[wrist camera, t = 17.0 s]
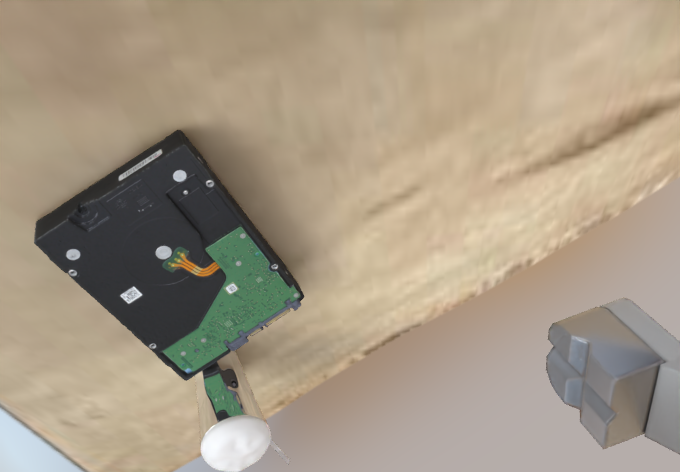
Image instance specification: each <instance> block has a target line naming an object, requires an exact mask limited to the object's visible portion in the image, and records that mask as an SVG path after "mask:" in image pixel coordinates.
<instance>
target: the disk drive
mask: <svg viewBox="0 0 680 472" xmlns="http://www.w3.org/2000/svg"><path fill="white" fill-rule="evenodd" d="M34 243H35V244H36V245H37V246H38V247H39V248H40V249H41V250H42V251H43V252H44V253H45V254H46V255H47V256H48V257H49V259H50V260H51V261H53V262H54V263H55V264H56V265H57V266H58V267H59V268H60V269H61V270H63V271H64V272H65V273H68V274H69V276H70V277H71V278H72V279H74V280H75V281H76V282H77V283H78V284H79V285H80V286H81V287H82V288H83V289H84V290H86V291H87V292H88V293H89V294H90V295H91V296H92V297H94V298H95V299H96V300H97V301H98V302H99V303H100V304H101V305H102V306H103V307H104V308H105V309H107V310H108V311H109V312H110V313H111V314H112V315H114V316H115V317H116V318H117V319H118V320H119V321H120V322H121V323H122V324H123V325H125V326H126V327H127V329H128V330H130V331H131V332H132V333H133V334H134V335H135V336H136V337H137V338H138V339H140V340H141V341H142V342H143V343H144V344H145V345H146V346H147V347H148V348H149V349H151V350H152V351H153V352H154V353H155V354H156V355H157V356H158V357H159V358H160V359H161V360H162V361H163V362H164V363H165V364H166V365H167V366H169V367H171V368H172V369H173V370H174V371H175V372H176V373H177V374H178V375H179V376H181V377H182V378H183V379H184V380H186V381H187V380H189V379H190V378H192V377H193V376H195V375H196V374H198V373H199V372H201V371H203V370H204V369H206V368H207V367H209V366H210V365H212V364H213V363H215V362H216V361H218V360H220V359H221V358H223V357H224V356H226V355H227V354H229V353H230V352H231V351H235V350H236V349H238V348H239V347H241V346H242V345H244V344H245V343H247V342H248V339H247V337H248V336H249V335H250V336H253V335H255V334H256V333H258V332H259V331H261V330H263V327H262V326H264V325H265V326H266V327H268V326H269V325H270V324H272V323H273V322H274V321H276V320H278V319H279V318H281V317H282V316H284V315H285V314H287V313H288V312H290V308H291V307H292V308H293V309H294V311H296V310H297V309H298V307H300V306H301V303H300V301H301V300H302V299H303V298H304V294H303V292H302V291H301V289H300V287H299V285H298V283H297V282H296V280H295V279H294V278H293V276H292V275H291V273H290V272H289V271H288V270H287V268H286V266H285V265H284V263H283V262H282V261H281V259H280V258H279V257H278V256H277V255H276V254H275V252H274V251H273V250H272V248H271V247H270V246H269V244H268V243H267V242H266V241H265V239H264V238H263V237H262V235H261V234H260V233H259V232H258V230H257V229H256V228H255V226H254V225H253V224H252V222H251V221H250V220H249V219H248V217H247V216H246V214H245V213H244V212H243V211H242V209H241V208H240V207H239V206H238V204H237V203H236V202H235V200H234V199H233V198H232V196H231V195H230V194H229V193H228V191H227V190H226V189H225V187H224V186H223V185H222V184H221V182H220V181H219V179H218V178H217V177H216V176H215V174H214V173H213V172H212V171H211V169H210V168H209V167H208V165H207V163H206V161H205V160H204V159H203V157H202V156H201V155H200V153H199V152H198V151H197V149H196V148H195V147H194V146H193V145H192V144H191V142H190V141H189V139H188V138H187V137H185V135H184V133H183V132H182V131H181V130H177V131H175V132H174V133H173V134H171V135H170V136H168V137H166V138H165V139H164V140H162V141H160V142H159V143H157V144H155V145H154V146H152V147H150V148H149V149H147V150H146V151H144V152H143V153H141V154H140V155H138V156H137V157H135V158H134V159H132V160H131V161H129V162H128V163H126V164H124V165H123V166H121V167H120V168H118V169H116V170H115V171H113V172H112V173H110V174H109V175H107V176H106V177H105V178H103V179H101V180H100V181H98V182H97V183H95V184H94V185H92V186H90V187H89V188H87V189H86V190H84V191H83V192H81V193H79V194H78V195H76V196H75V197H73V198H72V199H70V200H69V201H67V202H66V203H64V204H63V205H61V206H60V207H58V208H57V209H56V210H55V211H53V212H52V213H50V214H48V215H46V216H45V217H43V218H42V219H40V220H38V221H37V222H36V228H35V240H34Z"/></svg>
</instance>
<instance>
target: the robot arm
mask: <svg viewBox="0 0 680 472" xmlns="http://www.w3.org/2000/svg"><path fill="white" fill-rule="evenodd" d="M548 340H549V341H550V342H551V343H552V344H553V345H554V347H553V348H552V349H551V351H550V352H549V354H548V355H547V362H546V370H547V373H548V376H549V380H550V383H551V384H552V386H553V388H554V390H555V391H556V393H557V394H558V396H559V397H560V398H561V399H562V400H563V402H564V403H565V404H567V405H569V406H572V407H574V408H577V409H579V410H580V422H581V423H582V425H583V426H584V427H585V428H586V429H587V431H588V432H589V433H590V434H591V435H592V436H593V438H594V439H596V441H597V442H598V443H599V445H600V446H601V447H602V448H603V449H606V448H608V447H611V446H613V445H616V444H619V443H621V442H624V441H627V440H629V439H632V438H634V437H637V436H640V435H642V434H645V437H647V438H649V439H651V440H653V441H655V442H657V443H659V444H661V445H663V446H664V447H666V448H668V449H670V450H672V451H674V452H676V453H678V454H680V341H678V340H677V339H676V338H675V337H674V336H673V335H671V334H670V333H669V332H668V331H667V330H666V329H664V328H663V327H662V326H661V325H660V324H659V323H657V322H656V321H655V320H654V319H653V318H652V317H650V316H649V315H648V314H647V313H645V312H644V311H643V310H642V309H641V308H640V307H639V306H637V305H636V304H635V303H634V302H633V301H631V300H629V299H627V298H621V299H618V300H616V301H613V302H610V303H607V304H605V305H602V306H600V307H595V308H593V309H590V310H587V311H584V312H582V313H579V314H577V315H574V316H572V317H569V318H566V319H563V320H561V321H558V322H556V323H553V324H552V326H551V327H550V329H549V335H548Z"/></svg>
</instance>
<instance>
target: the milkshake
mask: <svg viewBox="0 0 680 472" xmlns="http://www.w3.org/2000/svg"><path fill="white" fill-rule="evenodd" d="M194 377H195V386H196V395H197V404H198V418H199V433H200V447H201V454H202V457H203V459H204V460H205V461H206V462H207V463H208V464H209V465H210V466H211V467H212V468H214V469H217V470H221V471H229V472H240V471H242V470H244V469H245V468H246V467H248V466H249V465H251V464H253V463H255V462H257V461H258V460H259V459H260V458H261V457H262V456H263V454H264V453H265V452H266V450H267V448H268V446H269V444H270V445H271V446H272V447H273V448H274V449H275V451H276V452H277V453H278V454H279V455H280V456H281V457H282V459H284V461H285V462H286V463H287V464H288V465H289V463H290V459H288V457H287V456H286V455H285V454H284V453H283V451H282V450H281V449H280V448H279V447H278V446H277V445H276V444H275V443H274V442H273V440H272V439H271V432H270V428H269V426H268V425H267V422H266V420H265V418H264V416H263V414H262V411H261V409H260V407H259V405H258V403H257V401H256V399H255V396H254V394H253V392H252V389H251V387H250V385H249V382H248V380H247V377H246V375H245V373H244V370H243V368H242V365H241V363H240V361H239V358H238V356H237V354H236V351H231V352H230V353H229V354H227V355H226V356H224V357H223V358H221V359H220V360H218V361H216V362H215V363H213V364H212V365H210V366H209V367H207V368H206V369H204V370H203V371H201V372H199V373H198V374H196V375H195V376H194Z"/></svg>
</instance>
